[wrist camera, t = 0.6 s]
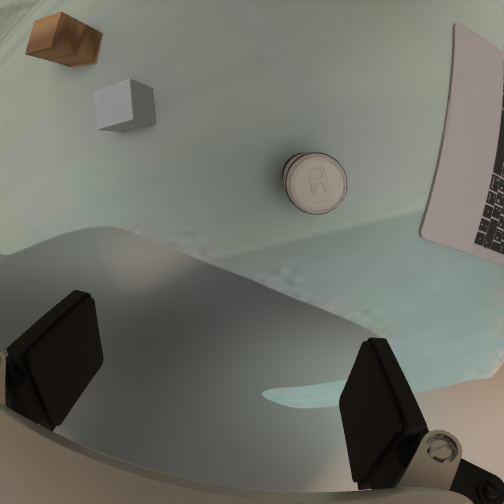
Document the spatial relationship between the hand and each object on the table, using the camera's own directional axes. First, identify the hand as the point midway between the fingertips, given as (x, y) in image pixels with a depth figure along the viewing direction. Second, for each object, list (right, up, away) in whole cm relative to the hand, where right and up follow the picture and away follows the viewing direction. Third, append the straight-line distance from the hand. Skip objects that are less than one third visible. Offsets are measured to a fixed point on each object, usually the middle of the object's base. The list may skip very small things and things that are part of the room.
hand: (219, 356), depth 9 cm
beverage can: (+8, +13, +27) cm, 31 cm away
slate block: (-14, +22, +25) cm, 37 cm away
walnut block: (-24, +33, +22) cm, 47 cm away
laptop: (+40, +19, +23) cm, 50 cm away
